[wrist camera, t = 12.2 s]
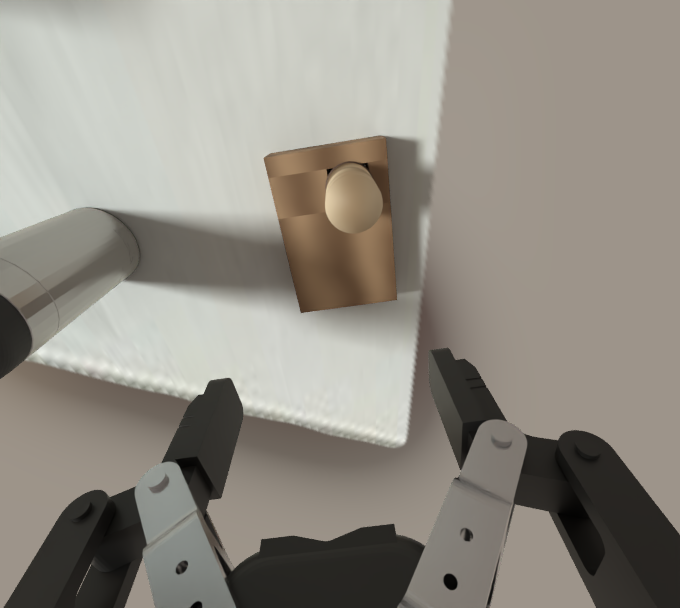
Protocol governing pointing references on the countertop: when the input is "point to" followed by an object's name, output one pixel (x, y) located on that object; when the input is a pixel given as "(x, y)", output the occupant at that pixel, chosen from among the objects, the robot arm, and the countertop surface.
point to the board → (332, 227)
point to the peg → (352, 198)
